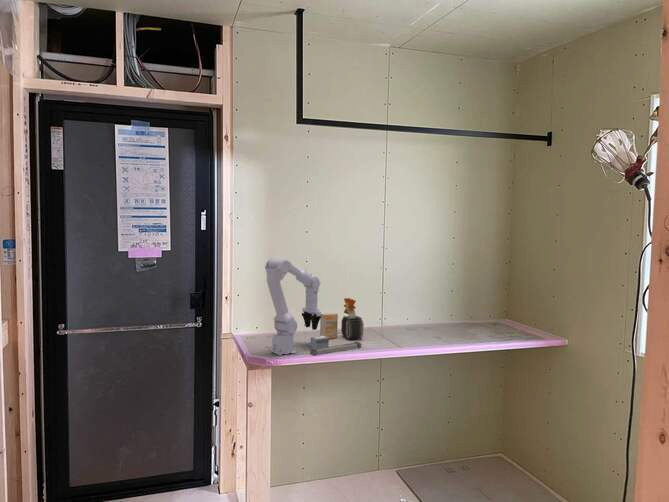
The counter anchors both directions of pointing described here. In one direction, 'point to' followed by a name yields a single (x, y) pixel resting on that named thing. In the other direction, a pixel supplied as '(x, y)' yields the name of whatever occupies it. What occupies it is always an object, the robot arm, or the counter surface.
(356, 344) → the rail
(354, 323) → the bomb
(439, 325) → the counter surface
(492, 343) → the counter surface
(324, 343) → the block
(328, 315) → the supplement box
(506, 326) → the counter surface
